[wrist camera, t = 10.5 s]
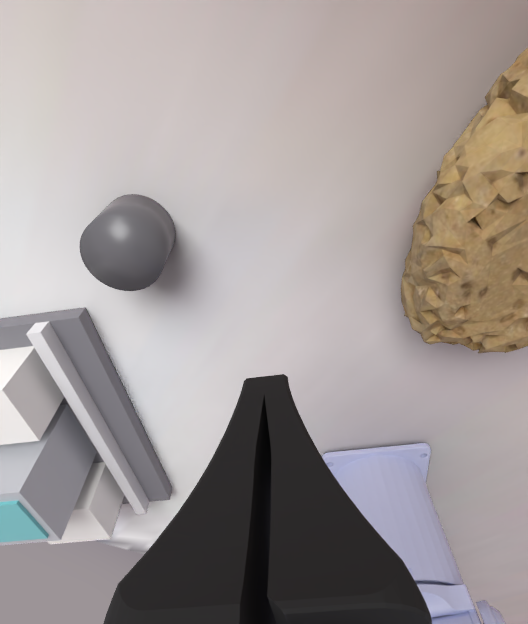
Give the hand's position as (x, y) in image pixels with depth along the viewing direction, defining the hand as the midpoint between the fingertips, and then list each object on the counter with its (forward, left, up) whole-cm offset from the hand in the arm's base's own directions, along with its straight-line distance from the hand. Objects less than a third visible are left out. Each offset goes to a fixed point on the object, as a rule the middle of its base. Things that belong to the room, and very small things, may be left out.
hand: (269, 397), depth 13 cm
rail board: (-10, +16, -9) cm, 21 cm away
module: (-10, +16, -8) cm, 21 cm away
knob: (+3, +6, -10) cm, 12 cm away
